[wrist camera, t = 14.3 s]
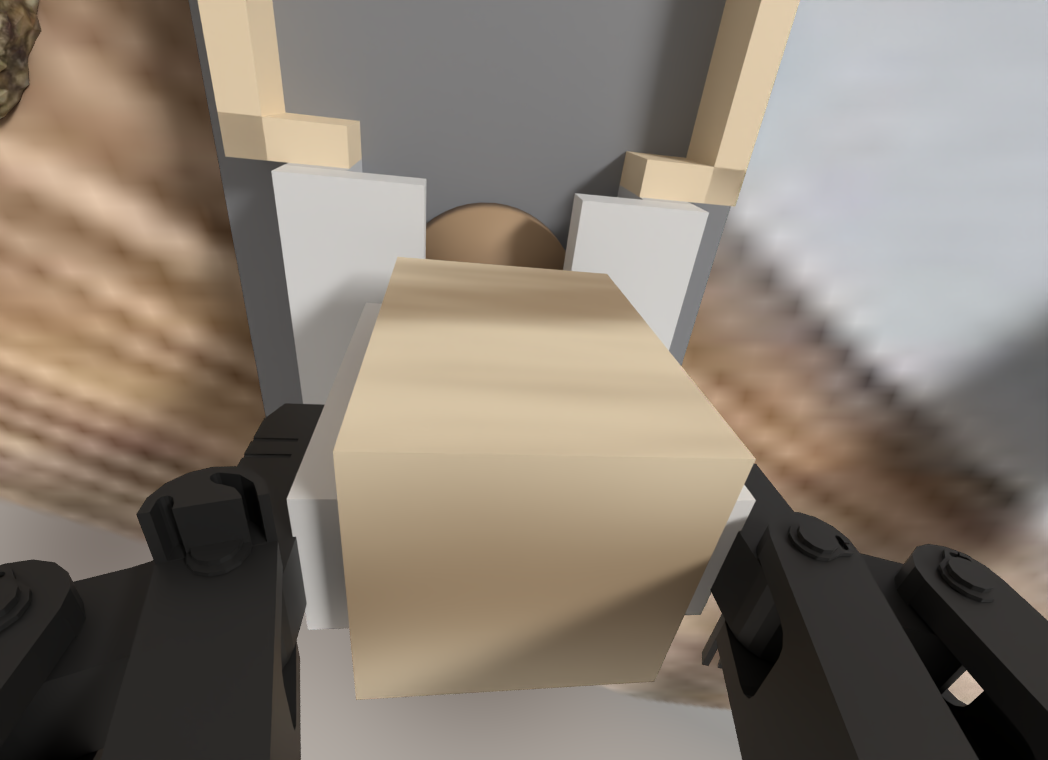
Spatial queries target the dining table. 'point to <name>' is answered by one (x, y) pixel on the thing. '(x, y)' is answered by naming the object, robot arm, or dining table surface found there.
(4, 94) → the bread roll
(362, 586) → the maple peg
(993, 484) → the dining table surface
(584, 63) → the keyhole board
